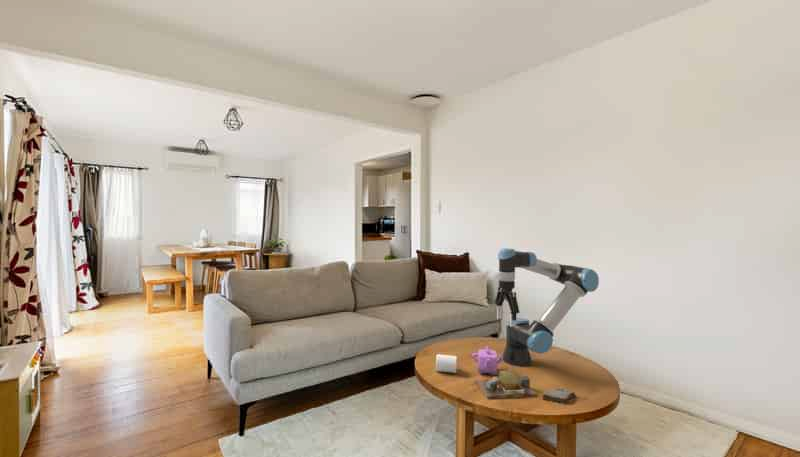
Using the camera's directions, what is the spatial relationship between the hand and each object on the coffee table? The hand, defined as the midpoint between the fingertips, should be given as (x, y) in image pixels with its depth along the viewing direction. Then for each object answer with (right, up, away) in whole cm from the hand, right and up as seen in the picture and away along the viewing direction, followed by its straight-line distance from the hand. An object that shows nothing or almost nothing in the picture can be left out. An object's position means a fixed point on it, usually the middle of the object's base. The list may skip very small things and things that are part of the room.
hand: (506, 322), depth 181 cm
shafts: (-4, -25, -17) cm, 31 cm away
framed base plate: (-5, -26, -16) cm, 31 cm away
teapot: (-9, -26, +4) cm, 28 cm away
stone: (+17, -28, -22) cm, 39 cm away
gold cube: (-4, -25, -15) cm, 30 cm away
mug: (-29, -25, +4) cm, 39 cm away
